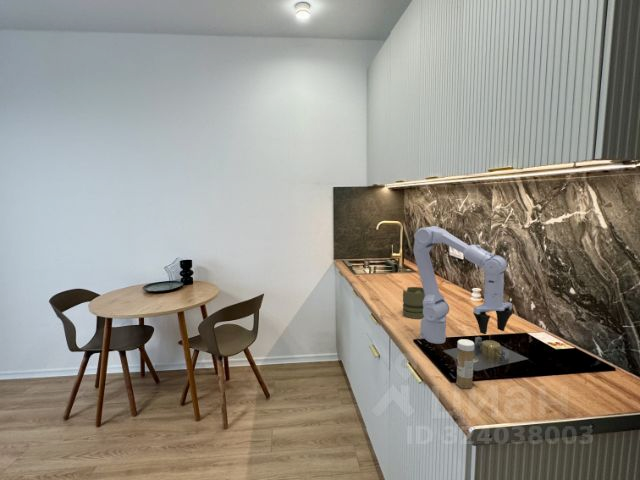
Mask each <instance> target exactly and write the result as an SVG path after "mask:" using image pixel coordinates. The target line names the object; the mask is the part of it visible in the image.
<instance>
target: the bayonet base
mask: <svg viewBox="0 0 640 480" xmlns="http://www.w3.org/2000/svg"><path fill="white" fill-rule="evenodd" d="M480 346H483V338H482V337H480V336H477V337H474V351H473V371H476V372H479V371H483V370H488V369H490V368H495V367H500V366H504V365H507V364H512V363H517V362H520V361H525V360H529V358H528V357H526V356H524V355H521V354H520V353H517V352H515V351H513V350H511V349H508V348H507V347H504V346H503V345H501V344H500V352H498V353H497V354H499V355H501V359H499V358H497V357H491V356H487V355H485V354H483V353H482V349H480ZM442 352H444V353H445V354H447V355H449V356H451V357H452V358H453V359H455V360H457V361H458V347H455V348H450V349H444V350H442Z"/></svg>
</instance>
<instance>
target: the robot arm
mask: <svg viewBox="0 0 640 480" xmlns="http://www.w3.org/2000/svg"><path fill="white" fill-rule="evenodd" d="M413 238H414V243H413V249H412V250H413V252H412V253H413V254H414V255H413V256H414V258H415V262H416V263H415V264H416V266H417V267H416V268H417V270H418V275H419V277H420V281H421V285H422V288H423V290H424V294H425V298H424V300H423V315H424V317H423V318H422V319H420V331H419V332H420V336H418V339H419V340H422V339H425V340H426V341H427V342H428V343H431V344H435V345H436V344H439V345H440V344H444V343H445V342H446V340H447V339H446V336H447V335H446V334H447V332H446V331H447V315H448V314H449V313H450V306H449V304H448V302H447V301H446V299H445V296H444V295H443V294H442V293H440V289H439V285H438V282H437V278H436V274H435V271H434V266H433V263H432V259H431V256H430V251H431V250H432V248H433V247H434V246H435V245H436V244H444V245H446V246H448V247H450V248H452V249H454V250H456V251H457V252H460V253H462V254H463V256H464V259H466V260H467V261H469V262H471V263H472V264H474V265H476V266H477V267H479V268H481V269H482V270H483V272H484V273H485V276H484V292H483V293H484V295H483V303H482V304H480V305H477V306H474V307H473V312H472V313H473V315H474V318H475V319H476V320H475V321H476V322H477V326H478V328H479V333H480V334H483V335H487V331H488V324H489V320H490V318H491V316H490V315H488V314H487V313H489V312H495V313H496V324H497V326H496V327H497V330H499V331H501V332H504V331H505V328H506V326H507V324H508V321H509V319H510V318H511V316H512V315H513V310H512V309H513V303H511V302H508V301H505V302H504V287H505V286H504V285H505V271H506V269H507V267H508V263H507V261H506V259H505V258H504V257H502V256H501V255H495V253H493V252H489V251H487V250H485V249H484V248H482V246H481V245H480V244H471V245H470V244H467V243H466V242H464V241H462V240H461V239H459V237H456V236H455V235H453V234H452V233H450V232H448V231H447V230H446V229H444V228H441V227H440V226H438V225H432V226H427V227H425V226H424V227H420V228H419V229H417V231H416V232H415V234H414V235H413Z"/></svg>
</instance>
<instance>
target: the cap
mask: <svg viewBox="0 0 640 480" xmlns="http://www.w3.org/2000/svg"><path fill="white" fill-rule="evenodd" d="M482 342H483V346H480V349H482V353H483V354H485V355H487V356H491V357H497V358H499V359H501V355H499V354H497V353H498V352H500V345H501V344H500V343H499V342H497V341H495V340H492V339H491V340H487V339H486V340H482Z"/></svg>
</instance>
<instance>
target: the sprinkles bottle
mask: <svg viewBox="0 0 640 480" xmlns="http://www.w3.org/2000/svg"><path fill="white" fill-rule="evenodd" d="M474 344H475V341H473V340H470V339H465V338H464V339H458V340H457V344H456V346H457V347H456V348H458V360H457V363H456V365H457V367H456V385H457V386H458V387H459V388H462V389H472V388H473V385H474V384H473V377H474V375H473V374H474V370H473V351H474Z"/></svg>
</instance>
